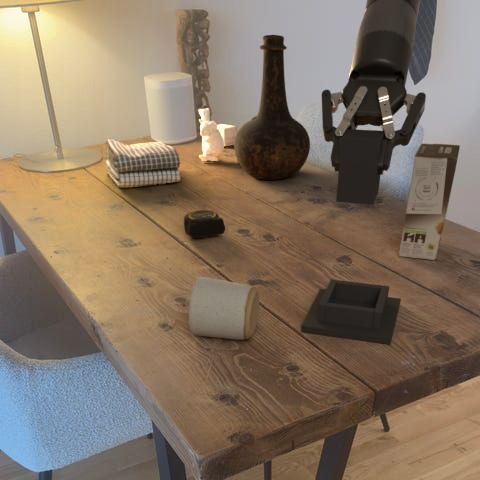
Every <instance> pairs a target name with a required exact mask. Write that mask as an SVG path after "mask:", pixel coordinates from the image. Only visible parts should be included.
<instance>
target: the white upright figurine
mask: <svg viewBox="0 0 480 480" xmlns="http://www.w3.org/2000/svg"><path fill="white" fill-rule="evenodd" d="M197 111H198V114H199V116H200V117H201V118H199V119H198V122H199V123H200V126H199V129H200V130H199V131H200V132H199V135H200V136H201V138H202V139H201V150H202V154H199V155H198V158H199V159H200V160H201V162H202V161H207V160H211V161H218V162H219V156H220V155H221V154H223V152H224V150H225V148H224V140H223V138H222V136H221V134H220V131H219V130H218V129H217V125H218V124H217V122H216V121H214V120H211V112H210V111H211V109H210V108H209V107H206V108H199V109H198V110H197Z"/></svg>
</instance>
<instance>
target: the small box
mask: <svg viewBox="0 0 480 480" xmlns="http://www.w3.org/2000/svg"><path fill="white" fill-rule="evenodd" d="M217 129H218V130H219V131H220V134H221V136H222V138H223V140H224V146H227V145H230V144H234V143H235V138H236V135H237V133H238V126H237V125H232V124H226V123H219V124H217Z"/></svg>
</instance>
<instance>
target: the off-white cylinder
mask: <svg viewBox="0 0 480 480" xmlns="http://www.w3.org/2000/svg"><path fill="white" fill-rule="evenodd" d="M189 297H190V298H189V303H188V325H189V329H190V332H191V334H192V335H194V336H200V337H201V336H202V337H208V338H209V337H210V338H218V339H228V340H236V341H242V340H243V341H244V340H245V341H246V340H249V339H251V337H253V335H254V334H255V331H256V328H257V324H258V319H259V313H260V293H259V291H258V290H257V288H256V287H254V286H251V285H248V284H247V283H241V282H233V281H230V280H229V281H228V280H224V279H223V280H222V279H217V278H211V277H206V276H199V277H198V278H197V279H196V280H195V282H194V284H193V286H192V289H191V293H190V296H189Z"/></svg>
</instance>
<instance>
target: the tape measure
mask: <svg viewBox="0 0 480 480" xmlns="http://www.w3.org/2000/svg"><path fill="white" fill-rule="evenodd" d="M183 228H184V229H183V230H184V232H185V235H187V236H189V237H190V238H193V239H207V238H209V237H212V236H219V235H223V234H224V233H225V231H226V225H225V222H224V219H223V218H222V217H220V216H219V214H218V213H217V212H216V211H213V210H210V209H198V210H193V211H190V212H188V213H186V214H185V215H184V218H183Z"/></svg>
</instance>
